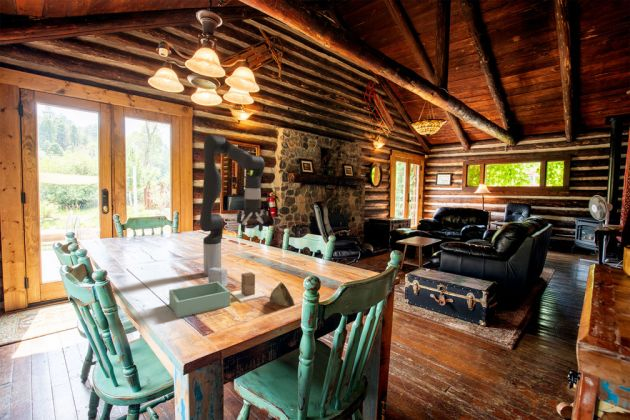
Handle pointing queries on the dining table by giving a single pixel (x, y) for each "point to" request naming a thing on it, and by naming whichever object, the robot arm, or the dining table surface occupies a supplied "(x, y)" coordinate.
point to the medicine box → (218, 275)
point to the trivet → (245, 298)
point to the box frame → (198, 298)
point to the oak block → (248, 284)
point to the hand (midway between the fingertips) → (251, 231)
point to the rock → (281, 296)
